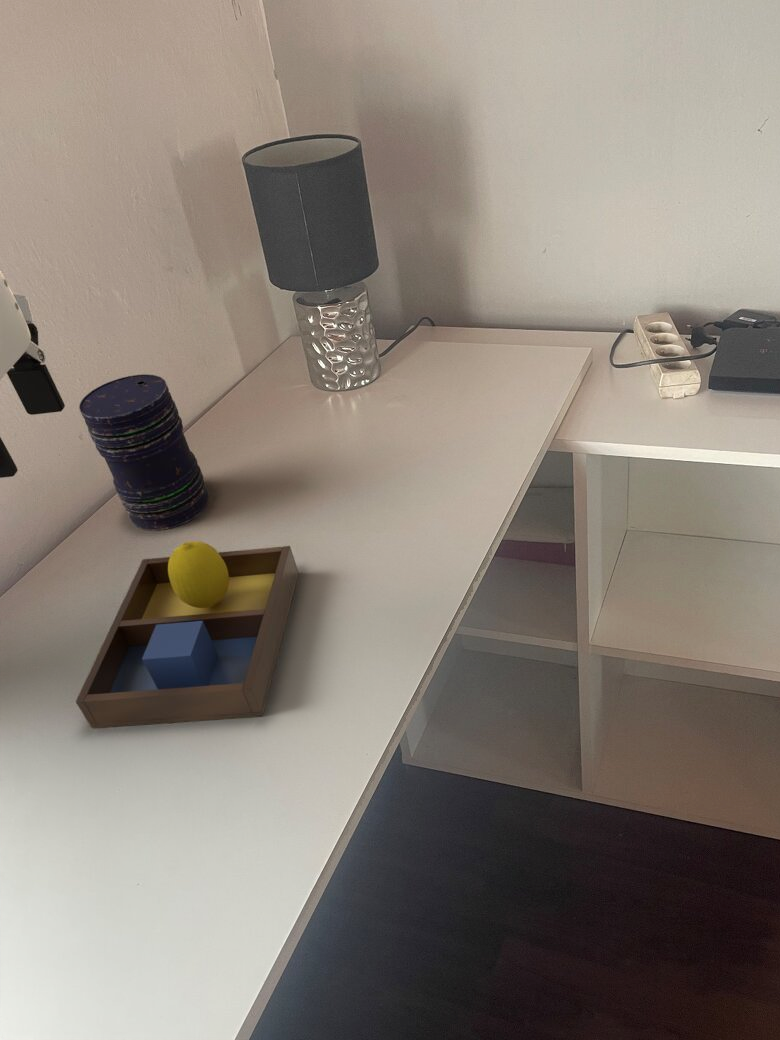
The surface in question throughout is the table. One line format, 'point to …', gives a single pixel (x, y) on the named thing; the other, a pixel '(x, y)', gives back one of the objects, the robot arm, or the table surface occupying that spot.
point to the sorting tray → (231, 626)
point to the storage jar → (146, 451)
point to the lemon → (198, 574)
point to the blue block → (180, 655)
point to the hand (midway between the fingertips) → (24, 442)
